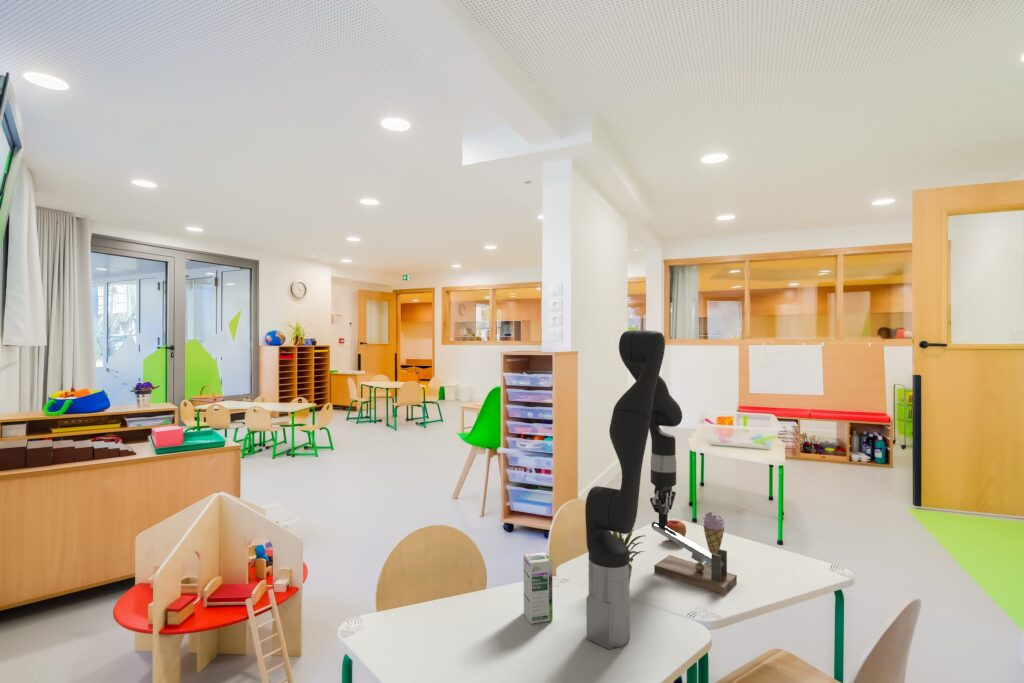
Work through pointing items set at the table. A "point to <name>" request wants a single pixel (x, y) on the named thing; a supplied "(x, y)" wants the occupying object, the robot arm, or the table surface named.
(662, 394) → the robot arm
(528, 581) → the syrup box
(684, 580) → the press base
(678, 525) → the apple
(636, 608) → the table surface
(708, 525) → the ice cream cone
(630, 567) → the house plant
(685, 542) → the lever
